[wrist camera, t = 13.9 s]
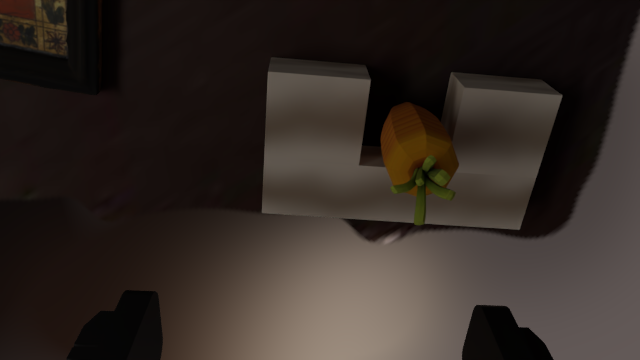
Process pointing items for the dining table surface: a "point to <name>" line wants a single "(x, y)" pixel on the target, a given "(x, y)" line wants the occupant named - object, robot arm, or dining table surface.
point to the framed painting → (52, 44)
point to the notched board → (367, 161)
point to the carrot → (418, 155)
